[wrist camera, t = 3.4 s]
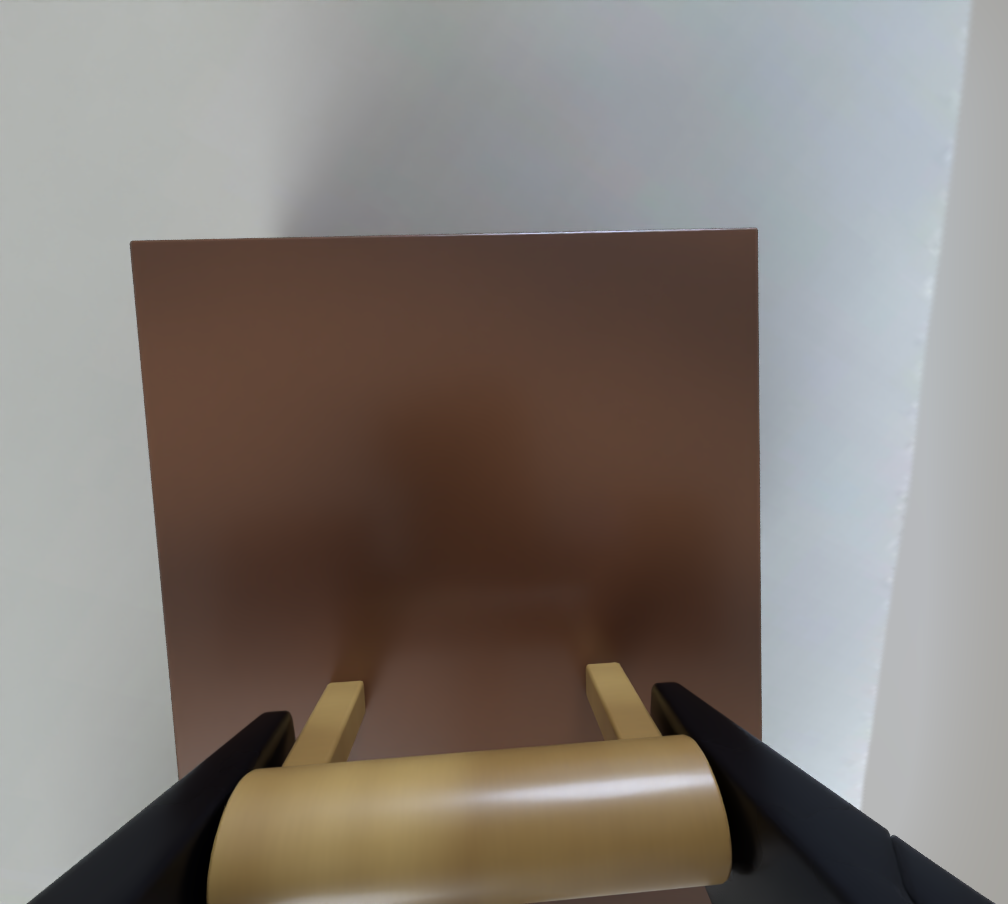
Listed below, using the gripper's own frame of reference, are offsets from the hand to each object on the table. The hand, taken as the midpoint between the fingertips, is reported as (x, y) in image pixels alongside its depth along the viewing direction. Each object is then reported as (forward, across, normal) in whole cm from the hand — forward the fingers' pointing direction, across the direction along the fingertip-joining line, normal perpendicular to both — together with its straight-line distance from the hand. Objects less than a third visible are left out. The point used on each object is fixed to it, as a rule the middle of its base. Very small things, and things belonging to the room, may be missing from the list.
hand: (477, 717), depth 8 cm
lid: (+2, 0, -1) cm, 3 cm away
